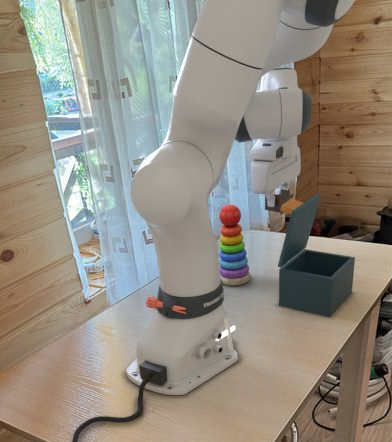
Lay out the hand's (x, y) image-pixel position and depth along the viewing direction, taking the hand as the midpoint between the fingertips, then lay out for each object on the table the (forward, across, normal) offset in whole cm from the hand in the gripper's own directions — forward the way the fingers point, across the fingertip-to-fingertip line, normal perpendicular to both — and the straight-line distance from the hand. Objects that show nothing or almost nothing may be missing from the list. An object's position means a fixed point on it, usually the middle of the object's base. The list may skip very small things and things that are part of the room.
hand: (277, 202), depth 130 cm
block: (+2, 0, 0) cm, 2 cm away
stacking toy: (+15, +17, -3) cm, 23 cm away
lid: (0, +18, +14) cm, 23 cm away
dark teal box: (+15, +18, +19) cm, 30 cm away
